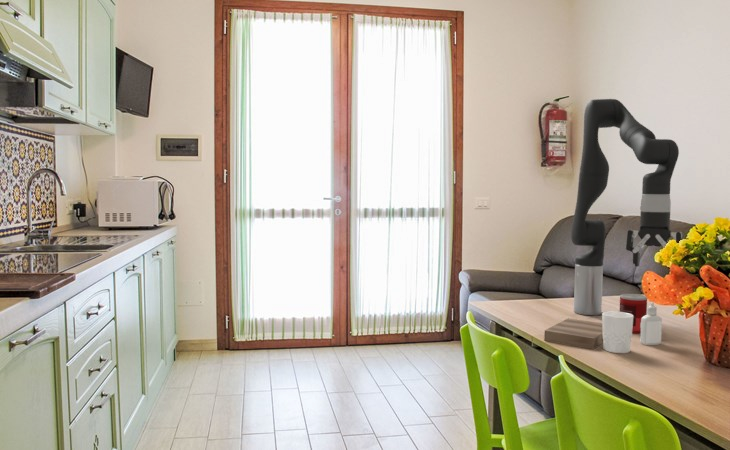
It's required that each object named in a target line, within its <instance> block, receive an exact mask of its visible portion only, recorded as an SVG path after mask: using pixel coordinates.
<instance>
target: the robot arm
mask: <svg viewBox="0 0 730 450" xmlns="http://www.w3.org/2000/svg"><path fill="white" fill-rule="evenodd" d="M584 108H585V109H584V115H583V141H582V152H581V159H580V165H579V166H580V167H579V173H578V174H579V175H578V186H577V196H576V203H575V210H574V214H573V218H572V219H573V220H572V225H571V230H570V231H571V233H570V236H571V237H570V239H571V242H572V244H573V245H575V246H584V247H586V246H587V247H588V246H590V247H591V248H590V250H588V251H586V252H583V253H581V254H579V255H576V256H575V259H574V260H575V261H574V291H573V293H574V297H573V312H574V313H576V314H578V315H579V314H580V315H585V316H599V315H602V308H603V307H602V305H603V304H602V303H603V274H604V273H603V272H604V257H605V245H606V244H605V242H606V234H607V233H606V225H605V222H604V221H603V220H601V219H586V218H587V216H588V213H589V210H590V209H591V207H592V206H593V205H594V203H595V202H596V201H597V200H598V199H599V198H600V197H601V195H602V194H603V193H604V192H605V189H607V187H608V186H607V185H608V181H609V174H610V165H609V162H608V160H607V157H606V155H605V154H604V152H603V150H602V148H601V146H600V142H599V131H600V130H599V129H600V128H601V129H602V128H604V129H605V128H612V127H613V128H617V129H619V137H620V140H621V141H622V142H623V143H624V144H625V145H626V146H628V147H629V148H630V149H631V150H632V151H633V153H634V155H635V157H636V159H637V161H639V162H640V163H641V164H645V165H658V166H657V167H656V170H655V171H654V172H650V173H645V174H644V175H643V176H642V177H643V178H642V193H641V200H640V208H639V209H640V215H639V216H640V217H639V218H640V219H639V221H640V222H639V229H638V230H634V229H629V230H627V233H626V234H627V235H626V246H625V250H626V251H627V252H632V264H633V265H634V266H635V267H639V266H640V262H641V258H640V257H641V252H640V251H641V250H642V249H643V248H644V247H645V246H647V247H652V246H653V247H663V249H664V248H665V246H666V244H667V243H668V242H669V239H670V238H671V237H672V238H673V240H675V243H676V242H677V243H679V241H680V240H683V237H684V236H683V235H684V234H683V232H682V231H678V232H676V231H675V232H673V231H671V227H670V226H671V207H672V206H671V205H672V204H671V203H672V202H671V180H672V177H673V173H674V170H675V168H676V164H677V162H678V158H679V154H680V151H679V146H678V144H677V142H676V141H675V140H672V139H669V138H668V139H667V138H666V139H665V138H664V139H663V138H662V139H661V138H659V139H658V138H656V136H655V134H654V132H653V131H651V130H650V128H648V127H646V126H644V125H643V124H641V122H639V121H638V120H637V119H636V118H635V117H634V116H633V114H632V113H631V112H630V111H629V110H628V109H627V108H626V106H625V105H624V104H623V103H622V101H620V100H618V99H615V98H601V99H599V98H598V99H591V100H589V101H588V102H587V103H586V106H585V107H584ZM637 236H638V238H640V241H639V242H638V244H637V245H636V246H634V239H635V238H636V237H637ZM683 241H684V240H683ZM667 269H668V270H671V269H670V268H669V267H668V266H667Z"/></svg>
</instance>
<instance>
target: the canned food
mask: <svg viewBox="0 0 730 450" xmlns="http://www.w3.org/2000/svg"><path fill="white" fill-rule="evenodd" d="M646 297H647V296H646V295H644V294H640V293H621V294H620V297H619V312H625V313H629V314H632V315H633V316H634V317H633V328H632V334H641V319H642V317H643V316H645V315H647V307H648V297H647V298H646Z"/></svg>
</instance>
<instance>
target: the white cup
mask: <svg viewBox="0 0 730 450" xmlns="http://www.w3.org/2000/svg"><path fill="white" fill-rule="evenodd" d="M601 315H602V316H601V319H602V320H601V323H602V333H603V343H602V349H603V350H604V351H606V352H609V353H614V354H627V353H630V352H631V351H630V350H631V343H632V337H633V333H632V328H633V317H634V316H633V315H632V314H629V313H625V312H620V311H617V310H614V311H613V310H612V311H611V310H610V311H603V312H601Z"/></svg>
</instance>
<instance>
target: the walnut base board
mask: <svg viewBox="0 0 730 450" xmlns="http://www.w3.org/2000/svg"><path fill="white" fill-rule="evenodd" d="M543 334H544V337H543V341H545V342H550V343H551V342H552V343H556V344H563V345H568V346H574V347H580V348H584V349H592V350H594V349H597V347H598V346H600V345H603V333H602V322H598V321H589V320H584V319H583V320H582V319H577V318H576V319H575V318H569V317H568V318H566V319H564V320H561V321H560V322H558V323H556V324H554V325H553V326H551V327H549V328H546V329H545V330H544V333H543Z"/></svg>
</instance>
